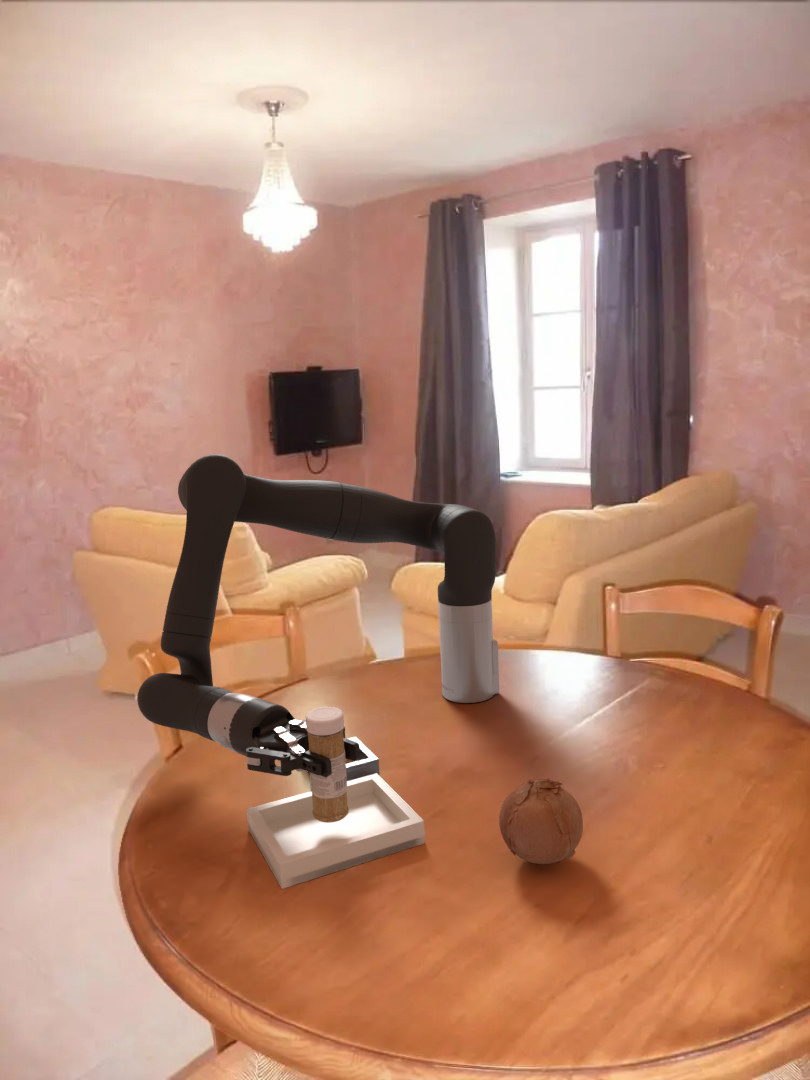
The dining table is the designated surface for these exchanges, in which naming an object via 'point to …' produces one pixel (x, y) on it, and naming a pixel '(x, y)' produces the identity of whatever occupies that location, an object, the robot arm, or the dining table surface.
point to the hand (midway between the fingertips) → (343, 760)
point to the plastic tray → (333, 831)
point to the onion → (541, 822)
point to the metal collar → (362, 763)
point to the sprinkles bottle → (329, 742)
